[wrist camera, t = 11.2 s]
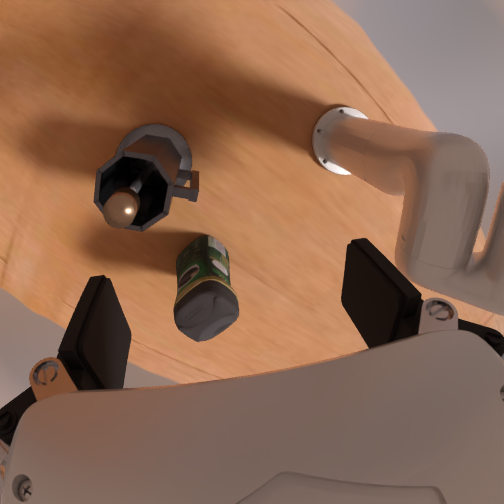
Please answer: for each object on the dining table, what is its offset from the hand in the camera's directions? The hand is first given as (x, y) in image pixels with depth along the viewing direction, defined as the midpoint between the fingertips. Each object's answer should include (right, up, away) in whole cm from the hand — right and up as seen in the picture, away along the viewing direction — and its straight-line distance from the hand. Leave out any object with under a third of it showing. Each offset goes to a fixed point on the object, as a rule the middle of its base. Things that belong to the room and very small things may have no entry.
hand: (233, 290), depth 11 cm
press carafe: (-16, +16, +35) cm, 41 cm away
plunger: (-15, +16, +34) cm, 40 cm away
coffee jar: (-9, 0, +45) cm, 46 cm away
